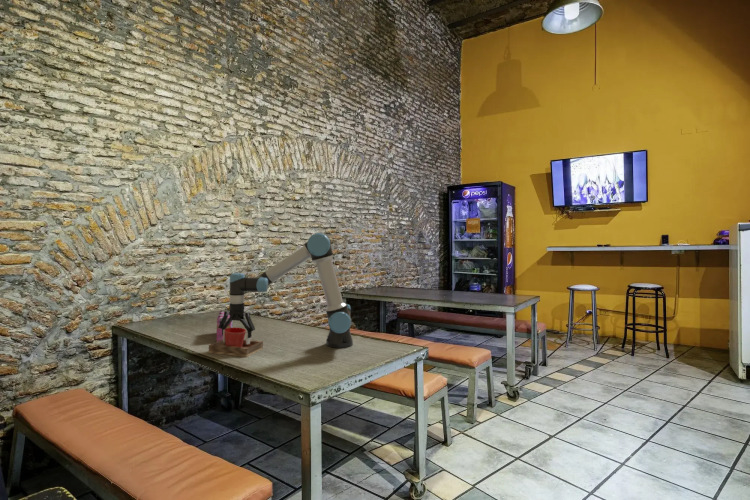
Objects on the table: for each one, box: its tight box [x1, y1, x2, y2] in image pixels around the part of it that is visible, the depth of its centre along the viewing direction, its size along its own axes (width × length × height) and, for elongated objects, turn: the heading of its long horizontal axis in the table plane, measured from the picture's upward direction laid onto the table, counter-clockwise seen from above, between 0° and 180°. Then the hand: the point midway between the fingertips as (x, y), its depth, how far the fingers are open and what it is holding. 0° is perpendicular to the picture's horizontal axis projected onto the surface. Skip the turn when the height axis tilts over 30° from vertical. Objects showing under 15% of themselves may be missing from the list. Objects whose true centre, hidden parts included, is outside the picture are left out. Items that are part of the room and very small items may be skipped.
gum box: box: [216, 310, 233, 342], centre depth 251 cm, size 24×8×14 cm, turn 16°
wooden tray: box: [208, 339, 264, 358], centre depth 221 cm, size 22×16×4 cm
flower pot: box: [225, 326, 247, 347], centre depth 222 cm, size 11×11×10 cm
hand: (236, 342), depth 221 cm, fingers open, 13 cm apart
